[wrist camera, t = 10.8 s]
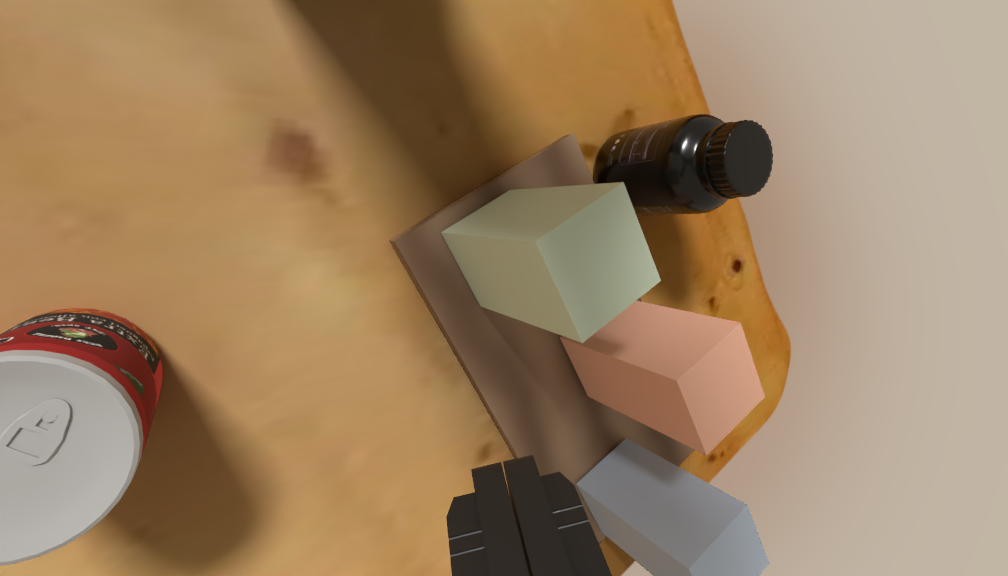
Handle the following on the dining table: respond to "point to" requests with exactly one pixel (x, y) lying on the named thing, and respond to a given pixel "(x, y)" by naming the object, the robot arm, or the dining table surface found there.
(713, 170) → the supplement bottle
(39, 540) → the canned food
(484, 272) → the sage block
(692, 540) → the slate block
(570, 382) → the wooden board
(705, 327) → the terracotta block
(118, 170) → the dining table surface
